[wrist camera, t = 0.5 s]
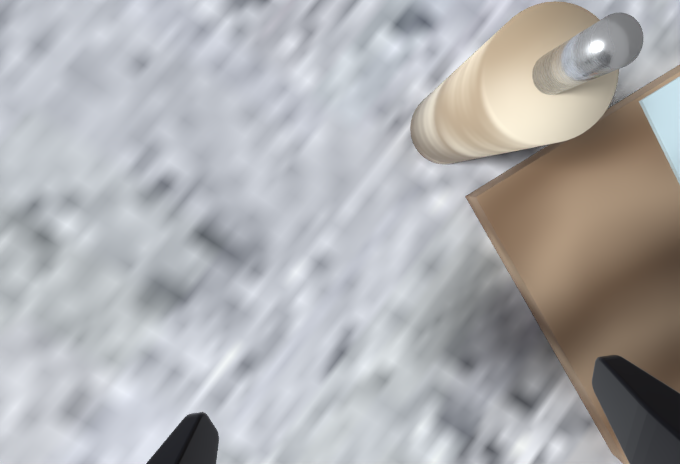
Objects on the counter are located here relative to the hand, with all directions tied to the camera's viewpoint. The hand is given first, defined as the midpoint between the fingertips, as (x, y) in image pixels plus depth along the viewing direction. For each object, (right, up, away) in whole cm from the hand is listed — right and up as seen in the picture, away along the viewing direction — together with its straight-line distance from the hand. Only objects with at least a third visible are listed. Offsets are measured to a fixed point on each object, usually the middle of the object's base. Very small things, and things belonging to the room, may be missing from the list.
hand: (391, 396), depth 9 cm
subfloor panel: (+18, +2, +14) cm, 22 cm away
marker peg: (+5, +10, +12) cm, 16 cm away
